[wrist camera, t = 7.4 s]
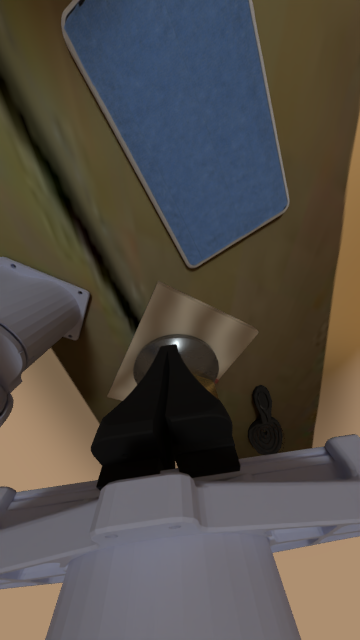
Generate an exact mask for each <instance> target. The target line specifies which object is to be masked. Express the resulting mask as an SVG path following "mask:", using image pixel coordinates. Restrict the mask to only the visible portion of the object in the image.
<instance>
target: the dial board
mask: <svg viewBox="0 0 360 640" xmlns="http://www.w3.org/2000/svg"><path fill="white" fill-rule="evenodd" d="M258 333H259V332H258V331H257V330H256V329H255V328H254V327H253V326H251V325H249V324H247V323H245V322H243V321H241V320H238V319H236V318H234V317H232V316H230V315H228V314H226V313H224V312H222V311H220V310H218V309H216V308H214V307H212V306H210V305H207V304H205V303H203V302H201V301H199V300H197V299H195V298H193V297H191V296H189V295H187V294H185V293H183V292H181V291H179V290H176V289H174V288H172V287H170V286H168V285H166V284H164V283H162V282H160V281H158V283H157V285H156V287H155V289H154V292H153V294H152V296H151V298H150V301H149V303H148V305H147V307H146V310H145V312H144V314H143V317H142V319H141V321H140V323H139V326H138V328H137V330H136V332H135V335H134V337H133V339H132V341H131V344H130V346H129V348H128V350H127V353H126V355H125V357H124V359H123V362H122V364H121V366H120V368H119V371H118V373H117V375H116V377H115V380H114V382H113V384H112V386H111V389H110V391H109V394H108V396H107V397H110V398H114V399H118V400H122V401H123V400H124V399H125V398H126V397H127V396H128V395H129V394H130V393H131V392H132V391H133V389H134V388H135V387H136V386H137V383H136V382H135V379H134V375H133V368H134V363H135V360H136V357H137V355H138V353H139V352H140V350H141V349H142V348H143V347H144V346H145V345H146V344H148V343H149V342H151V341H152V340H154V339H156V338H159V337H162V336H165V335H171V334H185V335H191V336H194V337H197V338H199V339H201V340H203V341H204V342H206V343H207V344H208V345H209V346H210V347H211V348H212V349H213V351H214V352H215V355H216V357H217V360H218V363H219V373H218V376H217V378H216V380H215V382H214V384H215V383H217V382H218V381H219V379H220V377H221V376H222V375H223V374H224V373H225V372H226V370H227V369H228V368H229V367H230V366H231V364H232V363H233V362H234V361H235V360H236V359H237V357H238V356H239V355H240V354H241V353H242V352H243V350H244V349H245V348H246V347H247V346H248V344H249V343H250V342H251V341H252V340H253V339H254V337H255V336H256V335H257V334H258Z"/></svg>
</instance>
